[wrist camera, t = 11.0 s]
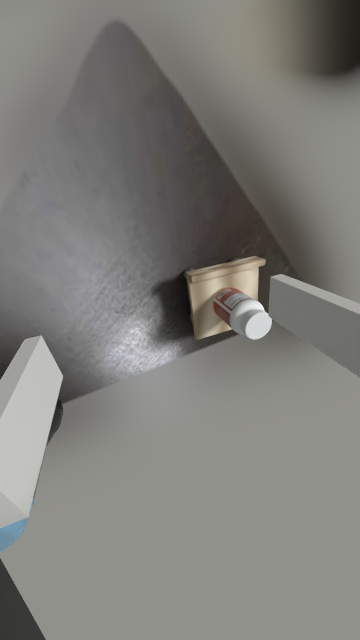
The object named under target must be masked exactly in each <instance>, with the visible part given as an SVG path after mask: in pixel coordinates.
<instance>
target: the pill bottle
mask: <svg viewBox="0 0 360 640" xmlns="http://www.w3.org/2000/svg"><path fill="white" fill-rule="evenodd" d="M212 307H213V310H214V312H215V313H216V314H217V315H218V316H219V317H220V318H221V319H222V320H223V321H224V322H225V323H227V324H228V325H229V326H230V327H231V328H232V329H233V330H234V331H235V332H237V333H239V334H243V335H246V336H247V337H248V338H250V339H259V338H261V337H263V336H264V335H265V334H266V333H267V332H268V331H269V330H270V327H271V324H272V320H271V318H270V317H269V316H268V315H269V314H268V313H266V312H265V311H264V308H263V306H262V305H261V304H260V303H259V302H258V301H256V300H254V299H253V298H251V297H250V296H248V295H246V294H245V293H243V292H241V291H240V290H238V289H236V288H234V287H225V288H222V289H220V290H219V291H218V292H217V293H216V294H215V296H214V298H213V301H212Z"/></svg>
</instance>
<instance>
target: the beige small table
mask: <svg viewBox="0 0 360 640" xmlns="http://www.w3.org/2000/svg"><path fill="white" fill-rule="evenodd" d="M263 265H265V259H263V258H260V257H257V256H253V257H249V258H245V259H238V258H235V257H232V258H231V259H230V260H229V261H228V263H223V264H219V265H215V266H211V267H206V268H202V269H198V270H194V269H192V268H186V269H185V270H184V272H183V276H184V277H185V278H186V279H187V284H188V291H189V299H190V306H191V314H190V316H189V318H190V320H191V321H192V322H193V328H194V336H195V338H196V340H198V339H201V338H204V337H208V336H211V335H214V334H218V333H221V332H224V331H228V330H231V329H232V328H231V327H230V326H229V325H228V324H227V323H225V322H224V321H223V320H222V319H221V318H220V317H219V316H218V315H217V314H216V313H215V312H214V310H213V307H212V301H213V298H214V296H215V294H216V293H217V292H218V291H219V290H220V289H222V288H225V287H234V288H236V289H238V290H240V291H241V292H243V293H245V294H246V295H248V296H250V297H251V298H253V299H254V300H256V301H258V267H259V266H263Z"/></svg>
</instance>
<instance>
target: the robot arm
mask: <svg viewBox="0 0 360 640" xmlns="http://www.w3.org/2000/svg"><path fill="white" fill-rule="evenodd" d="M268 316H269V317H270V318H272V319H273V320H275V321H276V322H278V323H279V324H281V325H282V326H284V327H285V328H287V329H288V330H290V331H291V332H293V333H294V334H296V335H297V336H299V337H300V338H301V339H303V340H304V341H306V342H308V343H309V344H310V345H312V346H313V347H315V348H317V349H318V350H320V351H321V352H322V353H324V354H326V355H327V356H328V357H330V358H332V359H333V360H334V361H336V362H337V363H339V364H340V365H342V366H343V367H345V368H347V369H348V370H349V371H351V372H352V373H354V374H355V375H357V376H358V377H360V304H359V303H357V302H354V301H351V300H348V299H346V298H343V297H340V296H338V295H335V294H333V293H330V292H327V291H324V290H322V289H319V288H317V287H314V286H312V285H309V284H306V283H304V282H301V281H298V280H296V279H293V278H290V277H288V276H285V275H283V274H280V275H276V276H272V277H271V281H270V298H269V315H268ZM62 378H63V375H62V374H61V372H60V370H59V368H58V366H57V364H56V362H55V360H54V358H53V356H52V355H51V353H50V351H49V349H48V347H47V345H46V343H45V341H44V339H43V337H42V336H41V335H40V336H36V337H32V338H29V339H25V340H24V342H23V343H22V345H21V347H20V348H19V350H18V352H17V353H16V355H15V357H14V358H13V360H12V362H11V363H10V365H9V366H8V368H7V370H6V371H5V373H4V375H3V376H2V378H1V380H0V552H2V551H3V550H5V549H6V548H8V547H9V546H10V545H12V544H13V543H14V542H15V541H16V540H17V539H18V538H19V537H20V535H21V534H22V533H23V531H24V529H25V526H26V524H27V521H28V518H29V515H30V511H31V509H32V506H33V504H34V496H35V492H36V487H37V483H38V479H39V475H40V471H41V466H42V462H43V458H44V453H45V449H46V446H47V445H48V443H49V441H50V440H51V438H52V437H53V435H54V433H55V432H56V431H57V429H58V428H59V426H60V423H61V419H62V415H63V407H62V404H61V402H60V400H59V399H58V395H59V391H60V386H61V382H62ZM0 640H46V639H45V638H44V636H43V634H42V632H41V630H40V629H39V627H38V625H37V623H36V622H35V620H34V618H33V616H32V614H31V613H30V611H29V609H28V607H27V605H26V604H25V602H24V600H23V598H22V596H21V595H20V593H19V591H18V589H17V587H16V586H15V584H14V582H13V581H12V579H11V577H10V575H9V573H8V571H7V570H6V568H5V566H4V564H3V562H2V561H1V559H0Z"/></svg>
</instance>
